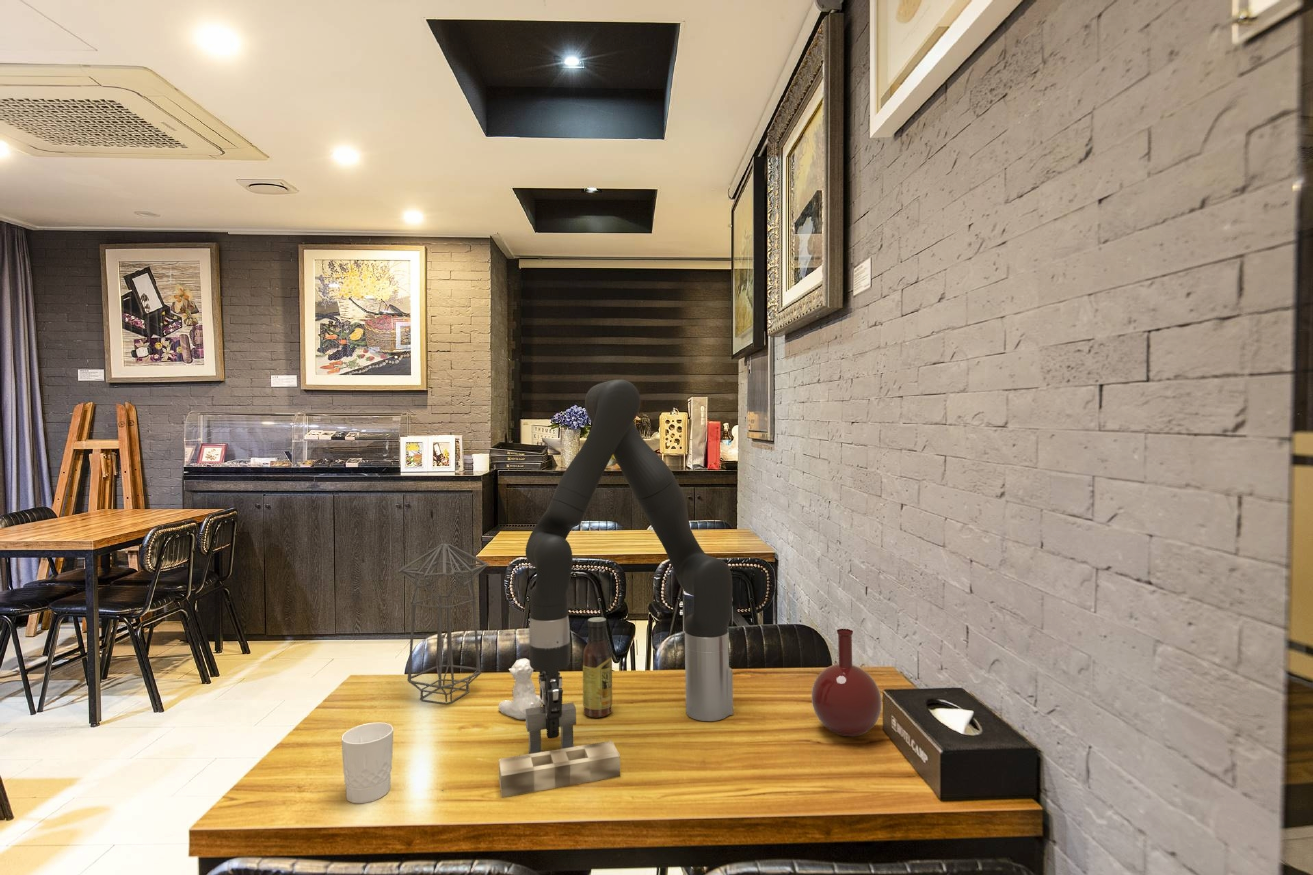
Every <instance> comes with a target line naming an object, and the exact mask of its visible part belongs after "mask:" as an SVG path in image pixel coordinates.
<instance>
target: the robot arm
mask: <svg viewBox="0 0 1313 875" xmlns="http://www.w3.org/2000/svg"><path fill="white" fill-rule="evenodd" d="M639 392H640V391H639V390H638V389H637V387H636V386H635V385H634V384H633V383H632V382H630V381H628V380H625V379H613V380H608V381H604V382H600V383H597V384H596V385H594V386H592V387H590V388H589V389H588V391H587V393H586V396H585V398H584V399H585V400H584V409H585V412H586V415H587V417H588V419H589V420H590V422H591V423H592V426H591V428H590V431H589V433H588V435H587V437H586V438H585V441H584V443H583V444H582V445H581V448H580V449H579V451H578V452H577V453H576V455H575V456H574V457H573V459H572V460H571V462H570V463H569V465H568V467H566V469H565V471H564V472H563V474H562V476H561V478H560V480H559V482H558V484H557V486H556V489H555V491H554V493H553V495H552V496H551V497H552V498H551V499H550V502H549V505H548V507H547V508H546V511H545V512H544V513H543V514H542V516H541V517H540V519H539V520H538V522H537V523H536V525H535V527H534V528H533V530H532V531H531V533H530V535H529V537H528V539H527V541H526V546H525V556H526V557H525V558H526V560H527V562H528V563H529V564H530V565H531V566H532V567H534V568H536V579H535V585H534V586H533V587H532V588H531V590H530V597H529V604H530V605H529V607H530V608H529V612H530V614H529V616H530V620H529V621H530V622H529V629H528V631H529V633H528V634H529V636H528V637H529V639H528V640H529V643H528V644H529V651H528V652H529V660H530V666H531V668H532V669H534V670H535V671H538V672H539V673H538V679H537V680H538V684H539V695H540V698H541V705H540V706H541V707H543V706H546V714H545V716H546V721H547V729H546V737H547V738H548V739H549V740H551V739H555V738H556V739H557V738H559V737H560V727H559V718H560V717H562V704H563V693H564V689H563V688H562V686H563V677H562V676H561V672H560V671H561V670H562V669H565V668H567V667H568V666H569V665H571V664H570V663H571V637H570V636H571V633H570V632H571V629H570V620H569V596H568V591H569V587H570V583H571V576H572V571H573V570H572V569H573V560H574V559H573V550H572V547H571V545H570V543H569V541H568V540H567V538H568V536H569V534H570V532H572V531H571V530H572V529H574V528H576V527H578V526H580V524H581V523H582V521H583V520H584V517H585V515H586V513H587V511H588V508H589V506H590V504H591V501H592V499H593V497H594V494H595V492H596V490H597V487H598V486H599V483H600V481H601V478H602V476H603V474H604V472H605V470H606V468H607V467H608V464H609V463H610V461H611V459H612V457H613V456H614V459H615V461H616V463H617V465H618V466H619V469H620V470H621V473H622V475H623V477H624V478H625V480H626V482H627V484H628V486H629V488H630V490H631V492H632V494H633V496H634V498H635V500H636V501H637V503H638V505H639V506H640V508H641V511H642V512H643V513H644V515H645V517H646V519H647V521H648V522H649V524H650V526H651V528H652V530H653V532H654V533H655V535H656V537H657V538H658V540H659V542H660V543H661V545H662V547H663V548H664V552H665V553H666V555H667V558H668V561H669V562H670V565H671V567H672V570H673V572H674V575H675V577H676V580H677V582H678V584H679V586H680V587H681V589H682V590H683V591H684V592H685V593H686V594H688V595H690V596H691V597H693V604H692V605H693V607H692V613H691V614H689V615H687V616H686V617H685V620H684V662H685V663H684V666H685V673H684V674H685V712H686V716H688V717H689V718H691V719H693V720H697V721H703V722H715V721H721V720H723V719H726V718H727V717H729V716H733V715H734V694H733V693H734V688H733V687H734V682H733V677H734V676H733V673H734V672H733V669H732V668H731V667H730V665H729V664H730V663H729V662H730V661H729V660H730V659H729V624H730V621H731V618H732V613H733V578H732V577H733V575H732V571H731V569H730V566H729V565H728V564H727V563H726V562H725V561H724V560H722V559H721V558H717V557H714V556H711V555H708V554H706V552H705V551H704V550H703V548H702V547H701V545H700V544H699V542H698V541H697V539H696V537H695V535H694V533H693V531H692V528H691V526H690V521H689V512H688V504H687V500H686V496H685V495H684V492H683V490H682V488H681V486H680V485H679V482H678V480H677V478H676V477H675V475H674V473H673V472H672V470H671V469H670V467H669V465H667V463H666V462H665V461H664V460H663V459H662V458H661V457H660V455H658V454H657V452H656V451H654V449H652V447H651V446H649V444H648V443H647V442H646V441H645V439H644V438H643V437H642V435H641V434H640V432H639V431H638V428H637V427H636V426H637V425H635V422H634V421H635V419H636V418H637V416H638V414H639V412H640V409H641V402H642V401H641V395H640V393H639ZM534 670H533V671H534ZM552 708H556V710H554V711H551V709H552Z"/></svg>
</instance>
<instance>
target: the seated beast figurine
mask: <svg viewBox="0 0 1313 875" xmlns="http://www.w3.org/2000/svg"><path fill="white" fill-rule="evenodd" d="M508 670H509V672H510V675H511V676H512V678H513V679H514V685H513V688H512V689H513V690H512V701H511V700H509V699H504V700H502V701H499V704H498V710H499V711H500V713H501V714H503V715H505V716H508V717H511V718H514V719H516V720H519V721H520V720H522V721H523V720H526V709H529V708H536V707H541V706H542V705H541V702H542V700H541V698H540V694H539V695H538V694H537V693H536V687H535V684H534V682H533V679H532V678H531V677H532V675H533V673H534V669H532V668H531V666H530V659H528V658H526V657H525V658H519V659H516V660H515V662H514V664H513V665H512V666H511V668H508Z"/></svg>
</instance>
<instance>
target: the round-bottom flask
mask: <svg viewBox="0 0 1313 875" xmlns="http://www.w3.org/2000/svg"><path fill="white" fill-rule="evenodd" d="M836 634H837V640H838V642H837V647H838V648H837V649H838V650H837V651H838V652H837V653H838V663H836V664H832V665H830V666H828V667H826V668H824V669H823V670H822V671H820V673H819V674H818V675H817V677H816V678H815V680H814V683H813V685H812V690H811V703H812V708H813V710H814V713H815V715H816V717H817V718H818V720H819V721H820V723H821V724H822V725H823V726H824V727H825V728H826V729H827V730H830V732H833V733H834V734H837V735H839V736H843V737H857V736H862V735H863V734H866V733H868V732H869V731H870V730H871V729H872V728H874V726H875V725H876V724H877V722H878V720H879V718H880V716H881V711H882V708H883V707H882V706H883V705H882V704H883V703H882V694H881V692H880V689H879V686H878V685H877V683H876V681H875V679H874V678H873V677H872V676H871V675H870V674H869V673H867V671H866V670H865V669H862V668H861V667H859V666H857V665H854V664H853V638H852V637H853V634H854V631H853V630H852V629H850V628H849V629H848V628H838V629H836Z"/></svg>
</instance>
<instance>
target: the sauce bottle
mask: <svg viewBox="0 0 1313 875" xmlns="http://www.w3.org/2000/svg"><path fill="white" fill-rule="evenodd" d="M607 625H608V624H607V618H605V617H602V616H599V617H598V616H597V617H596V616H594V617H590V618H588V619H587V626H588V627H587V628H588V637H587V639H588V642H587V644H586V645H585V647H584V649H583V654H582V655H583V656H582V657H583V659H582V661H583V662H582V705H583V713H584V715H585V716H587V717H589V718H595V719H596V718H597V719H599V718H602V717H606V716H608V715H610V714H611V713H612V708H613V707H612V706H613V654H612V652H611V650H610V647H609V644H608V640H607V632H606V631H607V629H606V627H607Z"/></svg>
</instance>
